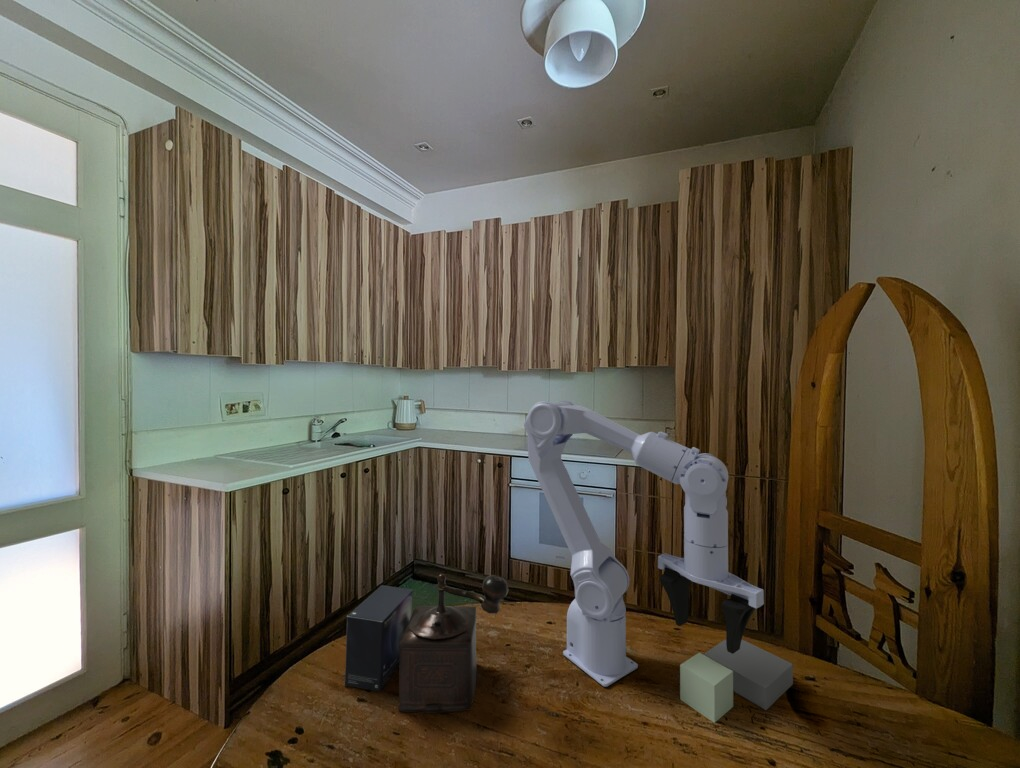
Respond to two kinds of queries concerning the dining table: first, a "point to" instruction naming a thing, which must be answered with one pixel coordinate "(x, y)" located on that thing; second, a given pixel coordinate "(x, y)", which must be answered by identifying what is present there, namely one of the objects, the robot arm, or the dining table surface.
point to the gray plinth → (755, 672)
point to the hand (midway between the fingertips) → (706, 635)
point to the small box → (376, 637)
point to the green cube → (706, 686)
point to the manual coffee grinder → (443, 651)
